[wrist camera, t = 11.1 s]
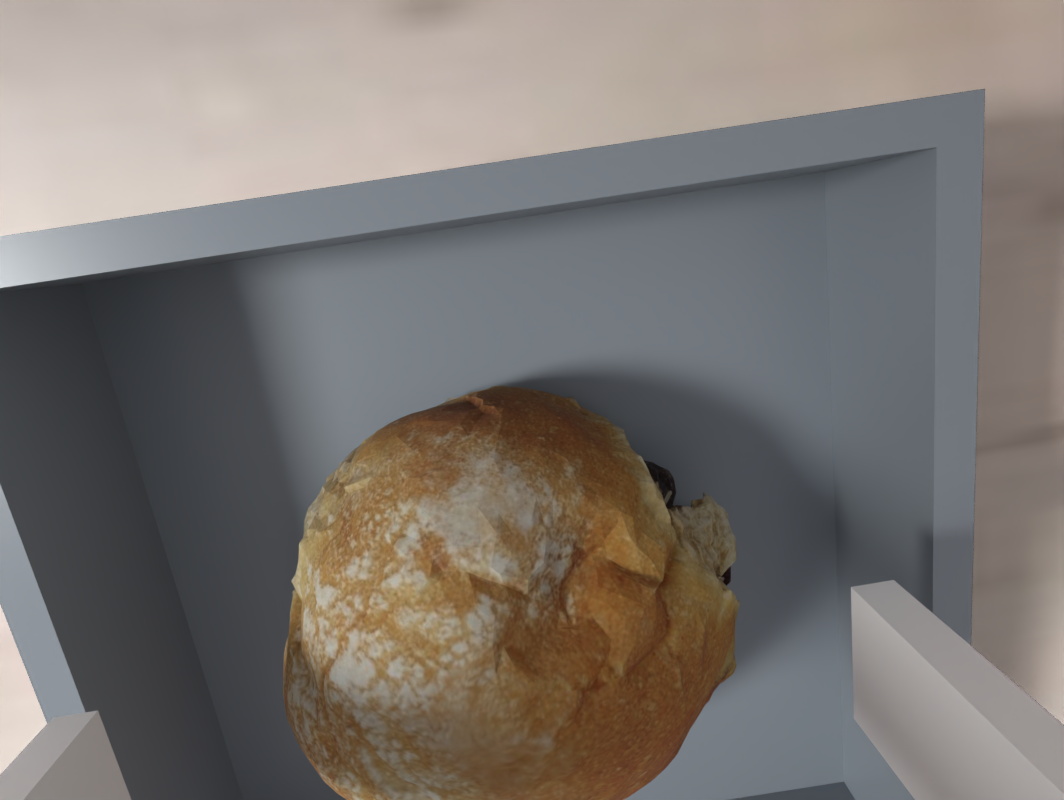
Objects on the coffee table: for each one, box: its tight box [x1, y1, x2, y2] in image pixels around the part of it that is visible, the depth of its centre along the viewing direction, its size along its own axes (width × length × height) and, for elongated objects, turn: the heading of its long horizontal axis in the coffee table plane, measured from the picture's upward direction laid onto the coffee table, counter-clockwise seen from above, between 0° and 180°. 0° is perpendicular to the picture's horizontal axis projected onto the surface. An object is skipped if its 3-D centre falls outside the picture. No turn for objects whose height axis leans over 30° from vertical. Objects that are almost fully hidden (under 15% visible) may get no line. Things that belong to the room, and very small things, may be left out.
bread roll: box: [283, 385, 740, 800], centre depth 14 cm, size 10×10×8 cm
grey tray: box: [0, 89, 985, 800], centre depth 15 cm, size 19×19×4 cm
